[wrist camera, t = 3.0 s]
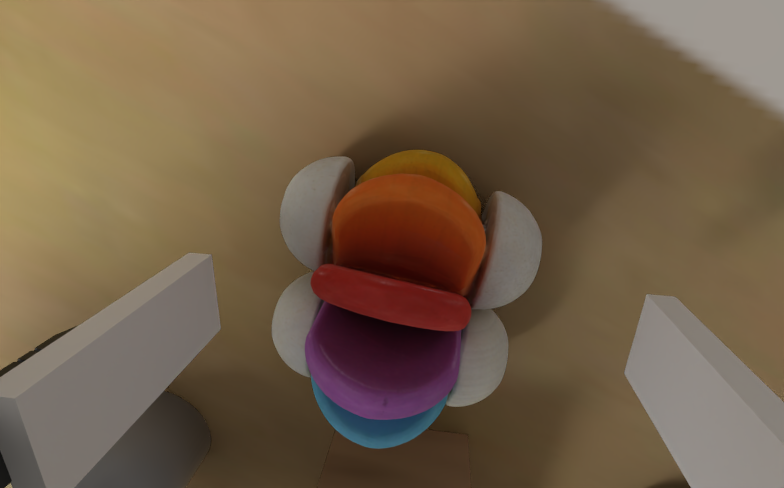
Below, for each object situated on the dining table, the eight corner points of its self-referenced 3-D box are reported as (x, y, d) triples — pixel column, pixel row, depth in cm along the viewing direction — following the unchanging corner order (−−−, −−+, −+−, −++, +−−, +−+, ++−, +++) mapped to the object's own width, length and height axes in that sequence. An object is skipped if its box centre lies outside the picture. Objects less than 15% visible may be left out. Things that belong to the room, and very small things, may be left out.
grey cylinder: (215, 472, 22) (139, 602, 17) (125, 460, 23) (22, 583, 17) (204, 394, 21) (115, 511, 15) (107, 383, 21) (-15, 492, 15)
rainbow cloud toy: (546, 166, 15) (627, 232, 8) (478, 384, 19) (498, 554, 12) (313, 121, 16) (213, 149, 9) (290, 343, 19) (206, 485, 12)
